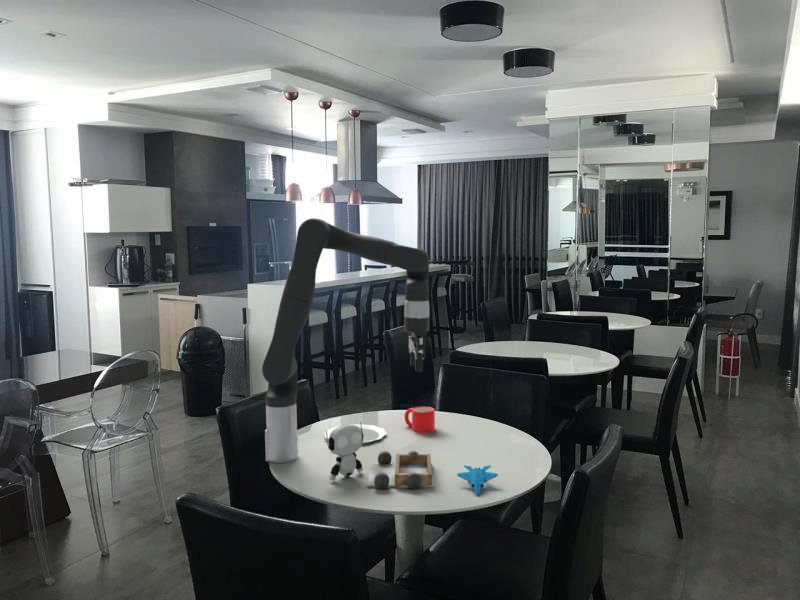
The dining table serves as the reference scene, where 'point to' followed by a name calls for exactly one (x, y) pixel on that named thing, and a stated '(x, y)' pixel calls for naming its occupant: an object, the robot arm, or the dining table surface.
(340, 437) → the robot toy
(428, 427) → the mug
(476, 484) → the toy airplane
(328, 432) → the plate
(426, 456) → the chassis
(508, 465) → the dining table surface
